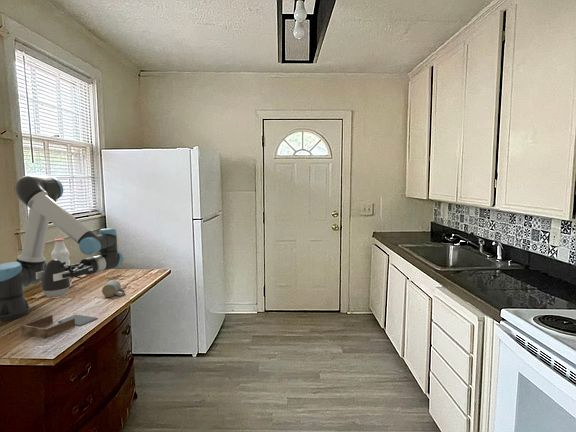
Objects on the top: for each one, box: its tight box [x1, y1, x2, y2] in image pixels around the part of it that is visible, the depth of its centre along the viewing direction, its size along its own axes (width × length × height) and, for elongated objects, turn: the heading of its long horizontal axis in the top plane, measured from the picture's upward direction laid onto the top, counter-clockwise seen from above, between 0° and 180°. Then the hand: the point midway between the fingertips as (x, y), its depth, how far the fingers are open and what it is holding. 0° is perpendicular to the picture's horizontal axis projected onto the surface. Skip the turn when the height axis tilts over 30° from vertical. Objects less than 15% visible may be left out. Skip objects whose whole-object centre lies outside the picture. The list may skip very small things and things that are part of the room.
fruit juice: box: [50, 238, 73, 288], centre depth 216 cm, size 9×9×28 cm
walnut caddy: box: [20, 314, 76, 339], centre depth 153 cm, size 14×13×4 cm
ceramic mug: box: [101, 279, 126, 298], centre depth 200 cm, size 11×8×8 cm
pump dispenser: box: [40, 259, 71, 298], centre depth 155 cm, size 10×10×15 cm
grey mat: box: [57, 314, 98, 327], centre depth 164 cm, size 13×9×1 cm
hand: (45, 276), depth 151 cm, fingers closed on pump dispenser, 9 cm apart
